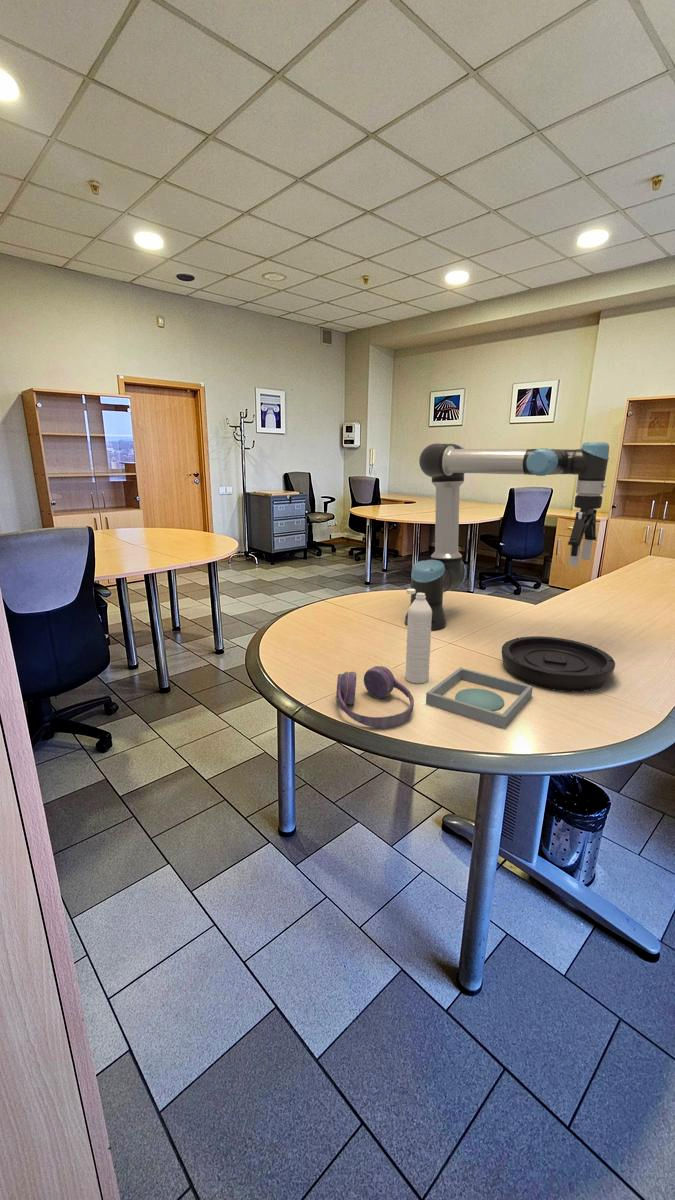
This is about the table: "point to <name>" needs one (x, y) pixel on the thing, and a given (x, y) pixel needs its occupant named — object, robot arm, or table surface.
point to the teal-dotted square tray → (476, 712)
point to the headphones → (379, 686)
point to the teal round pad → (481, 698)
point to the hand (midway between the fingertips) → (579, 562)
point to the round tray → (557, 663)
